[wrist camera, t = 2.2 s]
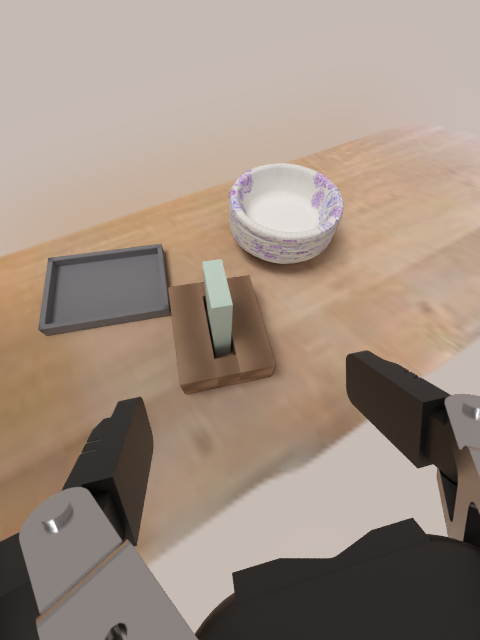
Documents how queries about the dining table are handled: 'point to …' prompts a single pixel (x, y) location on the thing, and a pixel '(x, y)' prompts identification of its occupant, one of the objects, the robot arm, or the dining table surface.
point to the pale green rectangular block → (218, 305)
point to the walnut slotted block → (197, 346)
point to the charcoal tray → (104, 289)
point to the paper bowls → (284, 212)
